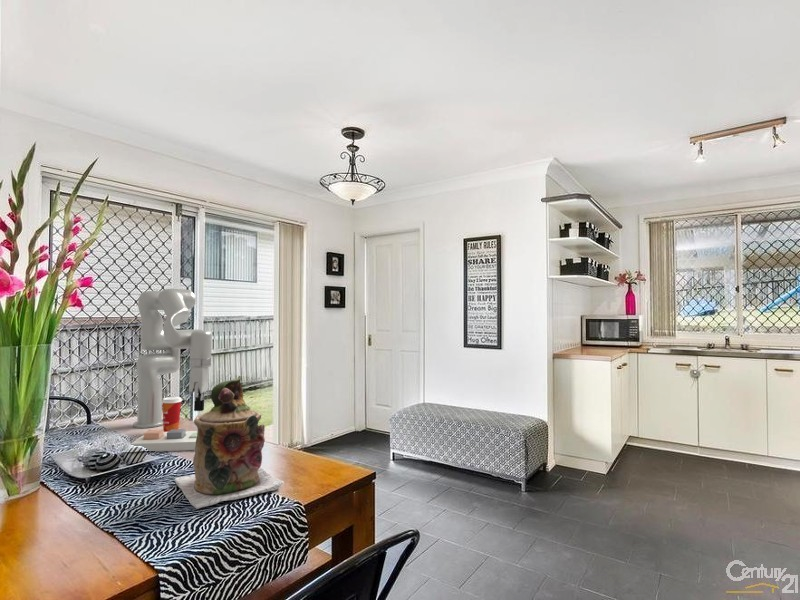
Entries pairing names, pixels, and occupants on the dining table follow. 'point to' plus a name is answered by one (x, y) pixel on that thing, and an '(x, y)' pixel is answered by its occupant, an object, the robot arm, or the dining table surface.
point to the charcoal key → (176, 433)
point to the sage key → (193, 435)
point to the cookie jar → (227, 451)
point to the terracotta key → (153, 434)
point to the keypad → (168, 443)
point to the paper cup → (171, 413)
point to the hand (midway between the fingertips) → (198, 410)
